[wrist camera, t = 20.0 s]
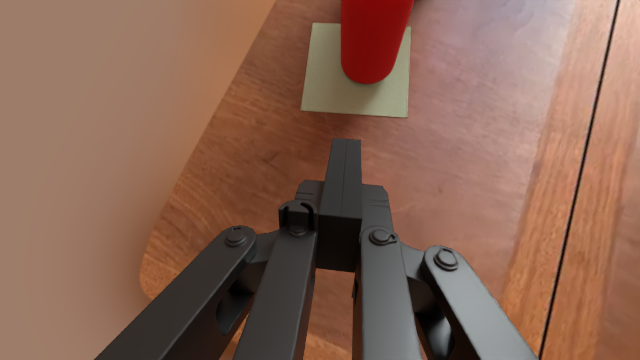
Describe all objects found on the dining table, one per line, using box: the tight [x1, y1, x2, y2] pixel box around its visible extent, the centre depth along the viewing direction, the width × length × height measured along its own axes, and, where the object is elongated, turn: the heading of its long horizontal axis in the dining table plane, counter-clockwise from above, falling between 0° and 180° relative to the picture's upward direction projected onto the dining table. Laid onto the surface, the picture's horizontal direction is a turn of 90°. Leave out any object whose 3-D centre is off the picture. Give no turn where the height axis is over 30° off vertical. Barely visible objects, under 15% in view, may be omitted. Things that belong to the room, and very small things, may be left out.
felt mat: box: [301, 23, 411, 118], centre depth 31 cm, size 12×12×1 cm
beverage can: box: [341, 0, 414, 85], centre depth 25 cm, size 6×6×12 cm
